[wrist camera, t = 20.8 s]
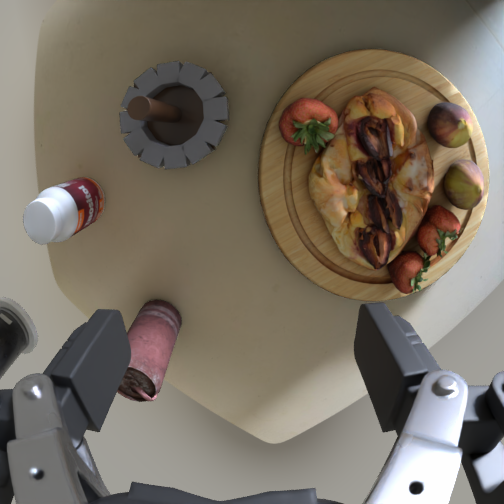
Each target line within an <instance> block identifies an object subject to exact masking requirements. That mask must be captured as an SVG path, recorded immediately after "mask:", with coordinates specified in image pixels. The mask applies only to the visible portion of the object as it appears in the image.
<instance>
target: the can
mask: <svg viewBox="0 0 504 504" xmlns="http://www.w3.org/2000/svg"><path fill="white" fill-rule="evenodd" d="M180 327H181V316H180V314H179V312H178V311H177V310H176V308H175V307H174V306H173V305H171V304H170V303H168V302H166V301H162V300H152V301H149V302H147V303H145V304H144V305H143V306H142V308H141V309H140V311H139V313H138V315H137V316H136V318H135V320H134V322H133V323H132V325H131V327H130V329H129V331H128V333H127V336H128V340H129V343H130V347H131V361H130V364H129V366H128V368H127V370H126V373H125V375H124V377H123V379H122V381H121V384H120V386H119V388H118V390H117V392H118V393H119V394H121V395H122V396H124V397H125V398H128V399H130V400H133V401H139V402H142V401H153V400H155V399H156V397H157V395H158V393H159V391H160V389H161V386H162V382H163V379H164V376H165V373H166V370H167V367H168V364H169V361H170V357H171V354H172V351H173V348H174V345H175V342H176V339H177V336H178V333H179V330H180Z"/></svg>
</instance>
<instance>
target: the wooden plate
mask: <svg viewBox="0 0 504 504" xmlns="http://www.w3.org/2000/svg"><path fill="white" fill-rule="evenodd" d="M258 186H259V195H260V202H261V206H262V210H263V213H264V216H265V219H266V223H267V225H268V227H269V230H270V232H271V235H272V237H273V238H274V240H275V242H276V244H277V246H278V247H279V249H280V250H281V252H282V253H283V255H284V256H285V257H286V259H287V260H288V261H289V262H290V263H291V264H292V265H293V266H294V267H295V268H296V269H297V270H298V271H299V272H300V273H301V274H302V275H304V276H305V277H306V278H307V279H309V280H310V281H311V282H313V283H314V284H316V285H317V286H319V287H321V288H323V289H325V290H327V291H329V292H331V293H333V294H335V295H338V296H342V297H345V298H349V299H354V300H360V301H384V300H392V299H397V298H400V297H404V296H407V295H410V294H412V293H415V292H417V291H421V290H422V289H424V288H425V287H427V286H429V285H430V284H432V283H434V282H435V281H436V280H438V279H439V278H440V277H441V276H443V275H444V274H445V273H447V271H448V270H449V269H450V268H451V267H452V266H453V265H454V264H455V263H457V261H458V260H459V259H460V258H461V257H462V255H463V254H464V253H465V251H466V250H467V248H468V247H469V245H470V244H471V242H472V240H473V238H474V237H475V235H476V233H477V230H478V228H479V226H480V223H481V221H482V218H483V215H484V211H485V208H486V203H487V198H488V191H489V162H488V155H487V149H486V144H485V140H484V137H483V134H482V131H481V128H480V126H479V124H478V121H477V119H476V117H475V115H474V113H473V111H472V109H471V107H470V106H469V104H468V103H467V101H466V100H465V99H464V97H463V96H462V94H461V93H460V92H459V91H458V90H457V89H456V87H455V86H454V85H453V84H452V83H451V82H450V81H449V80H448V79H447V78H446V77H444V76H443V75H442V74H441V73H440V72H438V71H437V70H436V69H434V68H433V67H431V66H430V65H428V64H426V63H424V62H422V61H420V60H418V59H416V58H414V57H411V56H408V55H406V54H403V53H399V52H394V51H389V50H384V49H359V50H353V51H348V52H344V53H341V54H338V55H335V56H333V57H330V58H328V59H326V60H324V61H322V62H320V63H318V64H316V65H315V66H313V67H312V68H310V69H309V70H307V71H306V72H305V73H303V74H302V75H301V76H300V77H299V78H298V79H297V80H296V81H295V82H294V83H293V84H292V85H291V86H290V87H289V88H288V90H287V91H286V92H285V93H284V95H283V96H282V98H281V99H280V101H279V102H278V103H277V105H276V107H275V109H274V111H273V113H272V115H271V117H270V119H269V121H268V124H267V126H266V129H265V132H264V135H263V139H262V143H261V148H260V156H259V166H258Z"/></svg>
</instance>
